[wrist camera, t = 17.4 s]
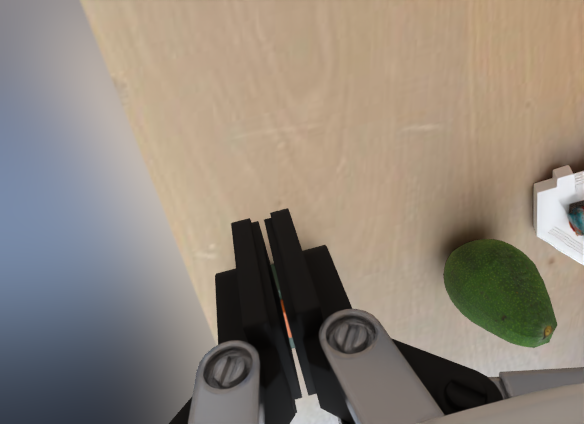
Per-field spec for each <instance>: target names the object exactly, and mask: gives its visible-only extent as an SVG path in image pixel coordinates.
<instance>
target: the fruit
mask: <svg viewBox="0 0 584 424" xmlns="http://www.w3.org/2000/svg"><path fill="white" fill-rule="evenodd" d="M443 275H444V283H445V287H446V290H447V292H448V294H449V297H450V299H451V300H452V302H453V303H454V305H455V306H456V307H457V308H458V309H459V311H460V312H461V313H462V314H463V315H464V316H465V317H467V318H468V319H469V320H470V321H472V322H473V323H475V324H477V325H478V326H480V327H482V328H484V329H485V330H487V331H489V332H491V333H493V334H494V335H496V336H498V337H500V338H502V339H504V340H506V341H508V342H510V343H513V344H516V345H520V346H524V347H532V348H535V347H537V346H540V345H543V344H545V343H548V342H549V341H550V339H551V336H552V334H553V332H554V330H555V328H556V326H557V322H556V318H555V315H554V311H553V308H552V304H551V301H550V298H549V295H548V292H547V290H546V287H545V284H544V281H543V279H542V278H541V276H540V274H539V272H538V270H537V268H536V266H535V264H534V263H533V262H532V261H531V260H530V259H529V258H528V257H527V256H526V255H525V254H524V253H523V252H522V251H520V250H519V249H517V248H515V247H514V246H512V245H510V244H508V243H505V242H503V241H499V240H495V239H481V240H475V241H471V242H468V243H466V244H464V245H462V246H460V247H458V248H457V249H455V250H454V251H453V252H452V253H451V254H450V256H449V257H448V258H447V261H446V264H445V268H444V274H443Z"/></svg>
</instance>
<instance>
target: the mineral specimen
mask: <svg viewBox="0 0 584 424" xmlns="http://www.w3.org/2000/svg"><path fill="white" fill-rule="evenodd" d="M582 200H583V201H582ZM578 201H579V202H580V201H581V202H583V205H581V206H580V203H579V204H578V207H577V206H576V207H575V208H574V207H573V208H570V209H572V210H571V211H570V212H571V213H569V207H570V206H569V205H570V204H573V203H578ZM575 205H577V204H575ZM575 205H572V206H575ZM533 227H534V230H535V233H536V235H537V237H539V238H541V239H542V240H544V241H546V242H547V243H549V244H551V245H552V246H553V247H554V248H555V249H557V250H559V251H560V252H562V253H564V254H565V255H567V256H569V257H570V258H572V259H574V260H576V261H577V262H579V263H581V264H582V265H584V171H581V172H578V173H574V174H573V172H572V170H571V169H570V167H569V165H566V166H563V167H560V168H557V169H553V178H551V179H548V180H544V181H541V182H538V183H534V211H533Z"/></svg>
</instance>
